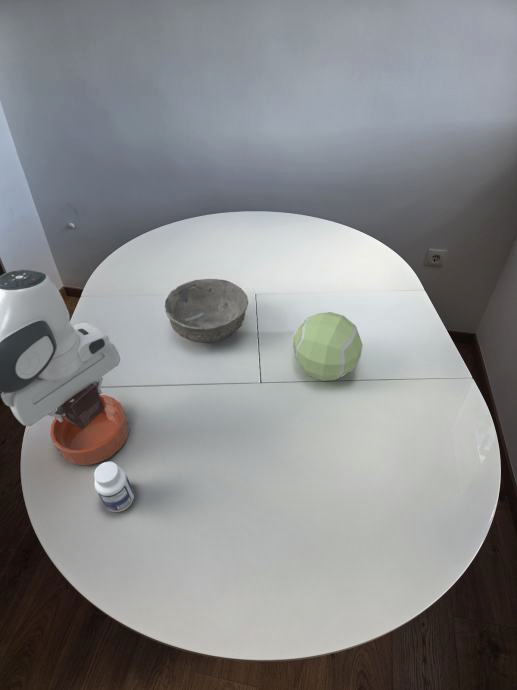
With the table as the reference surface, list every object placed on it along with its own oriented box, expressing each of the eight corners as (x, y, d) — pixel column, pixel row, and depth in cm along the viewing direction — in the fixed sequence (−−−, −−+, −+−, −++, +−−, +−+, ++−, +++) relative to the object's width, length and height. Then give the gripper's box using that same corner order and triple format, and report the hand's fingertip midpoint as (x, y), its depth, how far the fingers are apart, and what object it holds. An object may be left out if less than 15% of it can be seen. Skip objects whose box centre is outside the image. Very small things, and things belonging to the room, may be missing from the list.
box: (106, 409, 85) (96, 384, 80) (83, 431, 81) (70, 407, 76) (84, 397, 87) (73, 372, 82) (60, 418, 84) (47, 393, 79)
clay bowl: (85, 480, 82) (77, 466, 79) (45, 441, 89) (36, 426, 86) (143, 431, 90) (138, 417, 87) (102, 399, 97) (96, 384, 94)
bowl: (262, 319, 116) (262, 289, 110) (223, 369, 103) (221, 338, 96) (198, 298, 123) (194, 269, 117) (154, 342, 110) (146, 312, 103)
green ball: (282, 379, 100) (284, 331, 90) (306, 340, 110) (310, 293, 100) (344, 401, 96) (353, 353, 85) (363, 358, 105) (373, 310, 95)
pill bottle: (109, 485, 82) (95, 457, 75) (137, 485, 81) (126, 457, 75) (100, 512, 78) (85, 485, 71) (130, 513, 78) (117, 486, 71)
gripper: (6, 401, 66) (39, 451, 75) (115, 331, 77) (132, 382, 87) (-14, 381, 69) (20, 432, 78) (94, 317, 80) (112, 368, 90)
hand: (80, 405), depth 83 cm, fingers closed on box, 6 cm apart
